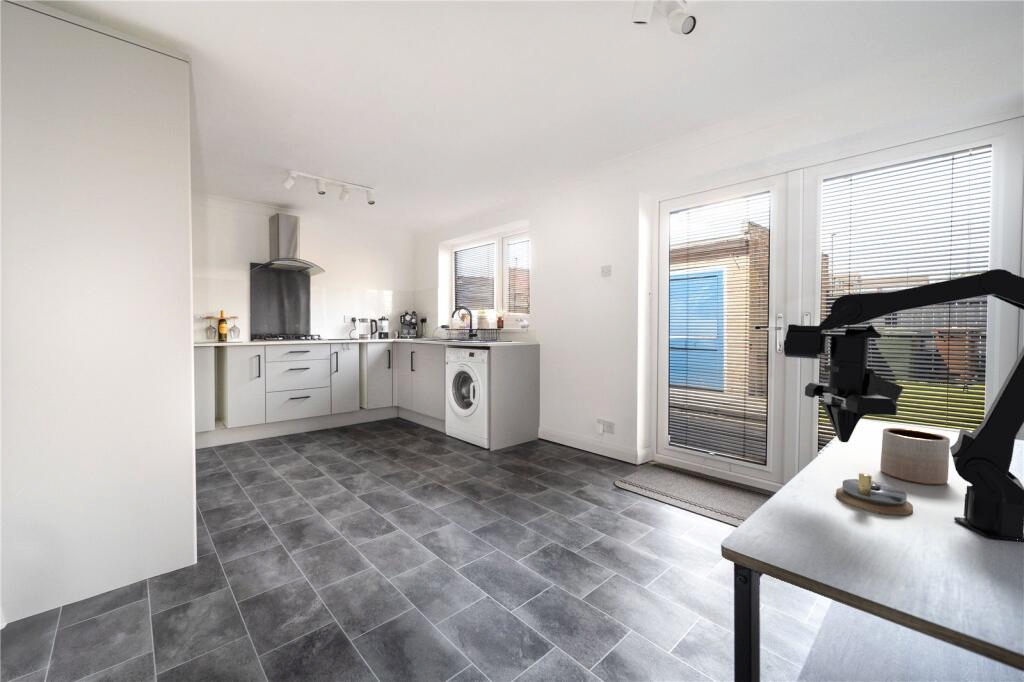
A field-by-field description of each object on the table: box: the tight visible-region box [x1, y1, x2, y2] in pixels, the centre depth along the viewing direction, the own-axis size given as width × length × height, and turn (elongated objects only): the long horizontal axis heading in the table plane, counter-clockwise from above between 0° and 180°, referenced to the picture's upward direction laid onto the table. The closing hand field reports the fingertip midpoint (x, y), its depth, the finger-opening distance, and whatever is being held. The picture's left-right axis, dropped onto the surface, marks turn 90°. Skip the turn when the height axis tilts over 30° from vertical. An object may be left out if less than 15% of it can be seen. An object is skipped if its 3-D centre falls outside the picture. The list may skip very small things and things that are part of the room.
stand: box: [835, 487, 914, 517], centre depth 81 cm, size 11×11×2 cm
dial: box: [842, 472, 908, 506], centre depth 81 cm, size 9×9×5 cm
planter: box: [880, 427, 951, 486], centre depth 94 cm, size 11×11×10 cm
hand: (843, 441), depth 83 cm, fingers closed
